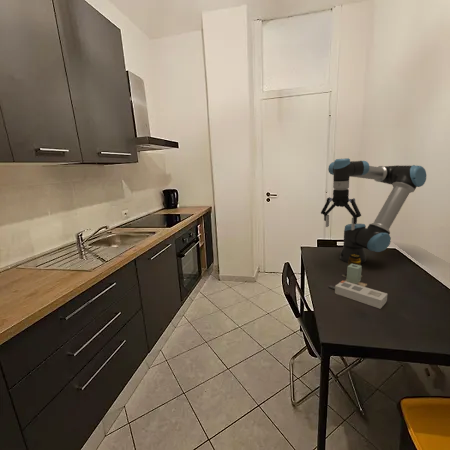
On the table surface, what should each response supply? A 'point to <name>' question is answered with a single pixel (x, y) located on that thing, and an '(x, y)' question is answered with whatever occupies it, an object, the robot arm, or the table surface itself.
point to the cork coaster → (360, 283)
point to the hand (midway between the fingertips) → (339, 228)
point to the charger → (354, 273)
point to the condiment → (353, 261)
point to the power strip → (361, 294)
